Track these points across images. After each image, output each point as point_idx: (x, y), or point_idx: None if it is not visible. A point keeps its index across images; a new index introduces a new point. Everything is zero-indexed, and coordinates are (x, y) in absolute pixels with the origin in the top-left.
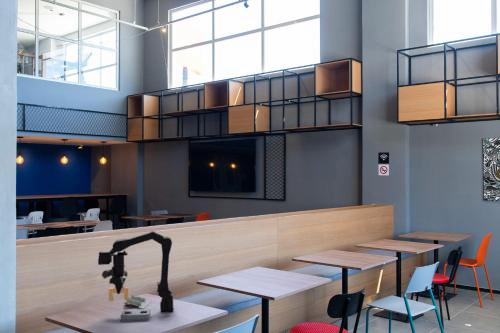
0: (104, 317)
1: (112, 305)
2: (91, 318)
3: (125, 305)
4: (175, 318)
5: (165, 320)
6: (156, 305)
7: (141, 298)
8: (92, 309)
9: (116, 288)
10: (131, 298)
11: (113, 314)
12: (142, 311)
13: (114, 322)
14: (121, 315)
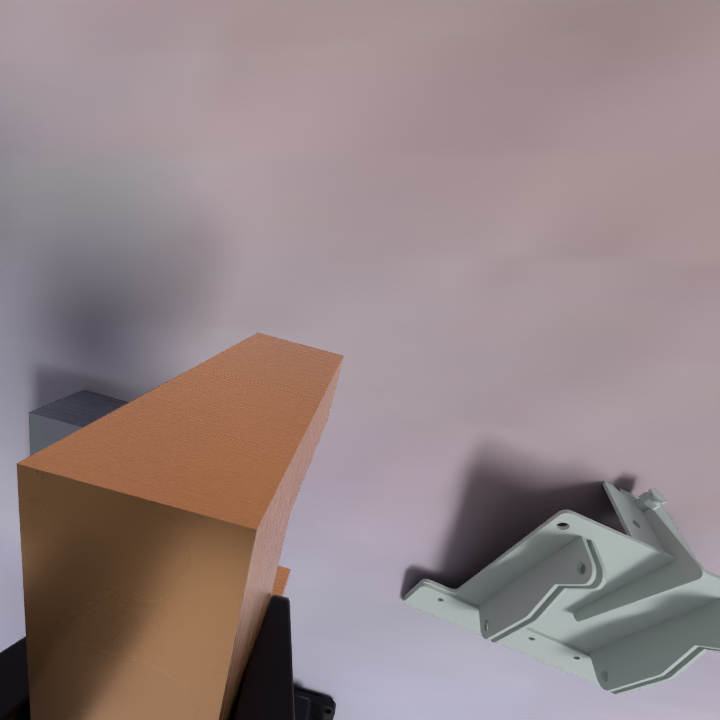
0: (245, 250)
1: (713, 364)
2: (249, 91)
3: (609, 489)
4: None
5: None
6: (461, 691)
7: (631, 672)
8: (679, 95)
9: None
10: (692, 597)
11: (325, 347)
12: None
13: (61, 336)
14: (30, 420)
